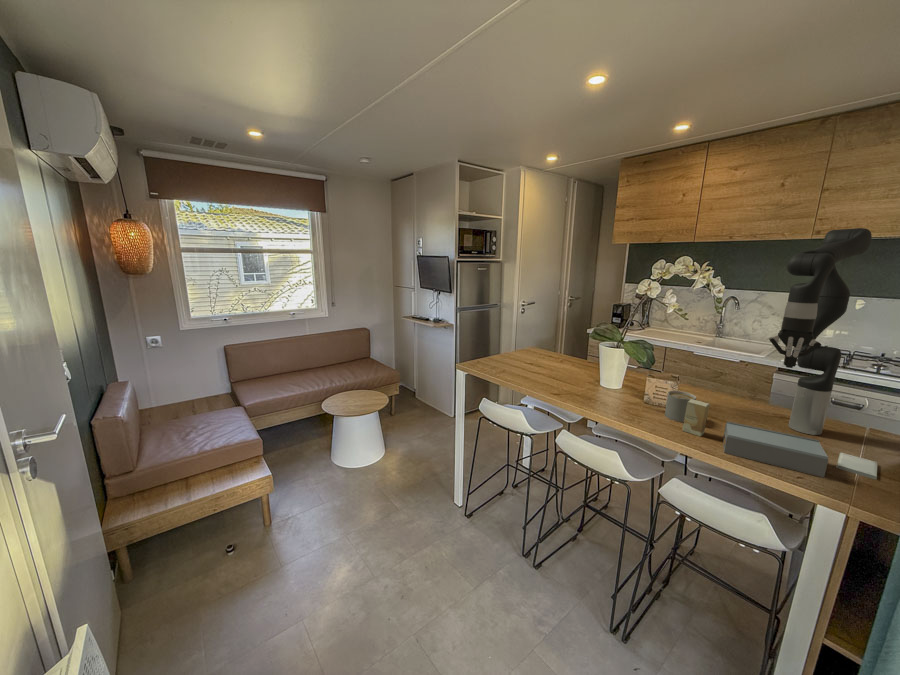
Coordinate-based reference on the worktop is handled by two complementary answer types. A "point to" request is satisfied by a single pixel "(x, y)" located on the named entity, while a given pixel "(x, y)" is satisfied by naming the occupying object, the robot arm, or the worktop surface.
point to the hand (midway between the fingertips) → (788, 367)
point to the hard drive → (857, 465)
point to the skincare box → (695, 417)
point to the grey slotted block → (775, 456)
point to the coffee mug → (677, 405)
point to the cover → (776, 439)
